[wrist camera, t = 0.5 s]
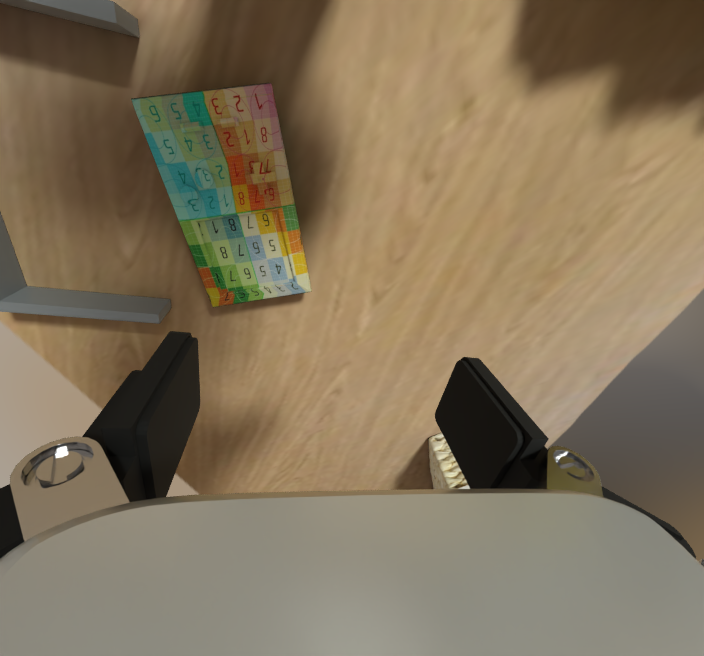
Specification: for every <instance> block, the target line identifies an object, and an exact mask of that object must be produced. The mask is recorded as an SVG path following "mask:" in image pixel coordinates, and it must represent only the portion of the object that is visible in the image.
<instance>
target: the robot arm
mask: <svg viewBox="0 0 704 656" xmlns="http://www.w3.org/2000/svg"><path fill="white" fill-rule="evenodd" d="M199 408H200V383H199V359H198V340H197V338H192V336H191V333H186V332H174V331H170V332H169V333H168V335H167V336H166V338H165V339H164V340H163V342H162V343H161V345H160V346H159V347H158V349H157V350H156V352H155V353H154V354H153V356H152V357H151V359H150V360H149V361H148V363H147V364H146V366H145V367H144V368H143V370H142V371H140V370H135V371H132V372H131V373H130V374H129V376H128V377H127V378H126V380H125V381H124V382H123V384H122V385H121V386H120V387H119V389H118V390H117V391H116V393H115V394H114V395H113V397H112V398H111V399H110V401H109V402H108V403H107V405H106V406H105V407H104V409H103V410H102V411H101V413H100V414H99V415H98V417H97V418H96V419H95V421H94V422H93V423H92V425H91V426H90V427H89V429H88V430H87V431H86V432H85V434H84V435H83V437H70V438H63V439H60V440H56V441H53V442H50V443H48V444H46V445H44V446H41V447H40V448H37V449H36V450H34V451H33V452H31V453H30V454H28V455H27V456H25V457H24V458H23V459H22V460H21V461H20V462H19V463H18V464H17V465H16V467H15V468H14V470H13V472H12V474H11V476H10V484H9V485H7V486H5V487H3V488H0V656H704V560H703V559H701V560H700V561H697V560H696V556H695V554H694V552H693V550H692V548H691V547H690V545H689V544H688V543H687V541H686V540H685V539H684V538H683V537H682V535H681V534H680V533H679V532H678V531H677V530H676V529H675V528H674V527H672V526H671V525H670V524H668V523H666V522H665V521H663V520H661V519H659V518H657V517H655V516H654V515H652V514H650V513H648V512H646V511H645V510H643V509H641V508H639V507H638V506H636V505H634V504H632V503H630V502H629V501H627V500H625V499H623V498H622V497H620V496H618V495H616V494H615V493H613V492H611V491H609V490H607V489H606V488H604V487H602V486H601V481H600V477H599V474H598V472H597V471H596V469H595V468H594V467H593V466H592V465H591V464H590V463H589V462H588V461H587V460H586V459H585V458H583V457H582V456H581V455H579V454H578V453H576V452H574V451H572V450H570V449H567V448H565V447H561V446H552V447H551V448H549V449H548V450H547V449H546V447H545V446H544V445H545V444H546V442H547V441H548V438H547V437H546V435H545V434H544V433H543V432H542V431H541V430H540V428H539V427H538V426H537V425H536V424H535V423H534V421H533V420H532V419H531V418H530V417H529V416H528V415H527V413H526V412H525V411H524V410H523V409H522V408H521V406H520V405H519V404H518V403H517V402H516V401H515V399H514V398H513V397H512V396H511V395H510V394H509V393H508V391H507V390H506V389H505V388H504V387H503V386H502V384H501V383H500V382H499V381H498V380H497V379H496V377H495V376H494V375H493V374H492V373H491V372H490V370H489V369H488V368H487V367H486V366H485V365H484V364H483V362H482V361H481V360H480V359H478V358H469V357H463V358H462V359H461V360H459V361H458V362H457V363H456V365H455V367H454V370H453V372H452V374H451V377H450V379H449V381H448V384H447V386H446V388H445V391H444V393H443V395H442V398H441V400H440V402H439V405H438V407H437V410H436V412H435V419H436V422H437V424H438V426H439V428H440V430H441V432H442V434H443V436H444V438H445V440H446V442H447V444H448V446H449V448H450V450H451V452H452V454H453V456H454V458H455V460H456V462H457V464H458V466H459V468H460V470H461V472H462V474H463V475H464V477H465V479H466V481H467V483H468V485H469V487H470V489H414V490H352V491H304V492H258V493H231V494H205V495H187V496H176V497H166V495H167V493H168V490H169V487H170V485H171V482H172V480H173V477H174V474H175V472H176V469H177V467H178V464H179V461H180V459H181V456H182V454H183V451H184V448H185V446H186V443H187V441H188V438H189V435H190V433H191V430H192V428H193V425H194V422H195V420H196V417H197V414H198V412H199Z"/></svg>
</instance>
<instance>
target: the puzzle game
mask: <svg viewBox="0 0 704 656" xmlns="http://www.w3.org/2000/svg"><path fill="white" fill-rule="evenodd" d="M131 100H132V103H133V106H134V109H135V111H136V114H137V116H138V119H139V122H140V124H141V127H142V129H143V132H144V134H145V137H146V139H147V142H148V144H149V147H150V149H151V152H152V154H153V157H154V159H155V162H156V165H157V167H158V170H159V172H160V175H161V177H162V180H163V182H164V185H165V187H166V190H167V192H168V195H169V197H170V200H171V203H172V205H173V208H174V210H175V213H176V215H177V218H178V220H179V223H180V225H181V228H182V230H183V233H184V235H185V238H186V241H187V243H188V246H189V248H190V251H191V253H192V256H193V258H194V261H195V263H196V266H197V268H198V271H199V273H200V276H201V278H202V281H203V284H204V286H205V289H206V291H207V294H208V296H209V299H210V301H211V304H212V306H213V307H218V306H224V305H231V304H237V303H243V302H250V301H256V300H262V299H268V298H275V297H281V296H287V295H294V294H300V293H306V292H312V291H311V284H310V279H309V273H308V268H307V263H306V258H305V253H304V248H303V243H302V237H301V232H300V227H299V222H298V217H297V212H296V207H295V201H294V196H293V191H292V186H291V181H290V176H289V170H288V165H287V160H286V155H285V150H284V145H283V140H282V134H281V129H280V124H279V119H278V114H277V109H276V103H275V98H274V93H273V88H272V84H271V83H263V84H254V85H246V86H237V87H228V88H220V89H211V90H203V91H194V92H185V93H177V94H168V95H159V96H151V97H142V98H134V99H131Z"/></svg>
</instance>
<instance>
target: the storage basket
mask: <svg viewBox="0 0 704 656" xmlns="http://www.w3.org/2000/svg"><path fill="white" fill-rule="evenodd" d="M428 441H429V458H430V468H431V469H430V472H431V475H432V482H433V488H434V489H470V487H469V485H468V483H467V481H466V479H465V477H464V475H463V474H462V472H461V470H460V468H459V466H458V464H457V462H456V460H455V458H454V456H453V454H452V452H451V450H450V448H449V446H448V444H447V442H446V440H445V438H444V436H443V434H442V433H440V434H437V435H435V436H432V437H430V438H429V440H428Z"/></svg>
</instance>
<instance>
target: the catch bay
mask: <svg viewBox="0 0 704 656" xmlns="http://www.w3.org/2000/svg"><path fill="white" fill-rule="evenodd" d="M0 3H2V4H6V5H10V6H14V7H18V8H22V9H26V10H30V11H34V12H38V13H42V14H46V15H50V16H54V17H58V18H62V19H66V20H70V21H74V22H78V23H82V24H86V25H90V26H94V27H98V28H102V29H106V30H110V31H114V32H118V33H122V34H126V35H130V36H134V37H138V38H140V36H139V28H138V19H137V18H135V17H134V16H132V15H131V14H130V13H128V12H127V11H126V10H124V9H123V8H122V7H120V6H119V5H117V4H116V3H115V2H113V1H109V0H0ZM170 309H171V300H170V299H162V298H151V297H140V296H129V295H119V294H108V293H97V292H86V291H75V290H64V289H53V288H42V287H32V286H27V285H26V282H25V279H24V276H23V274H22V271H21V268H20V265H19V263H18V260H17V257H16V254H15V251H14V249H13V246H12V243H11V240H10V237H9V235H8V232H7V229H6V226H5V224H4V221H3V218H2V215H1V212H0V311H1V312H14V313H27V314H40V315H53V316H66V317H79V318H93V319H106V320H119V321H132V322H145V323H158V324H160V322H161V321H162V320H163V318H164V317H165V316H166V314H167V313H168V312H169V310H170Z"/></svg>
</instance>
